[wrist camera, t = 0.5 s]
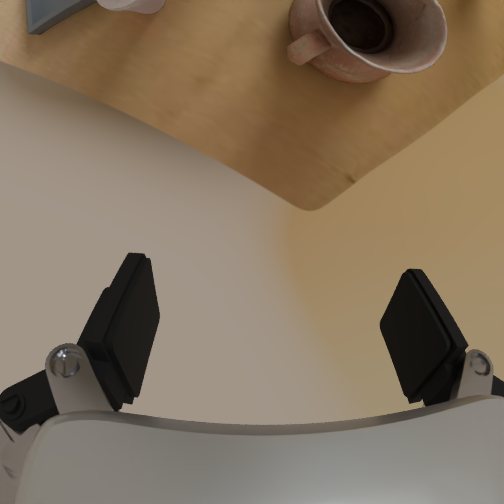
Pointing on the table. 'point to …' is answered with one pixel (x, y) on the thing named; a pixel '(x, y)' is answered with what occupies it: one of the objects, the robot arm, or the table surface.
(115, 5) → the smoothie
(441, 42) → the ceramic jug
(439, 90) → the table surface
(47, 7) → the tray
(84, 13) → the table surface
